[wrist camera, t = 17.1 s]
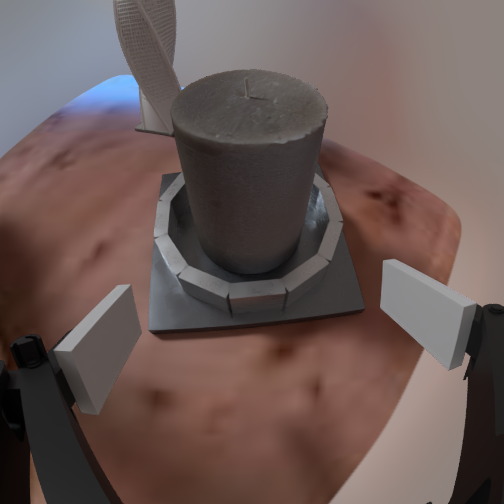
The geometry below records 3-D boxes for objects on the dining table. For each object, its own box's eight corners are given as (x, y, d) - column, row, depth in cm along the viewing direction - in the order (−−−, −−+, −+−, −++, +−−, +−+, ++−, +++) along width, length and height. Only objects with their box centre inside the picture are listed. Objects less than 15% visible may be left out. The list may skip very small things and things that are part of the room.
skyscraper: (205, 112, 41) (187, -62, 17) (176, 142, 37) (141, -60, 13) (161, 107, 42) (134, -49, 19) (130, 134, 38) (87, -39, 15)
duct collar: (152, 333, 23) (135, 317, 20) (164, 180, 33) (156, 154, 29) (361, 312, 24) (378, 293, 21) (317, 168, 34) (322, 142, 30)
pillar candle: (180, 220, 28) (141, 81, 15) (261, 178, 31) (264, 45, 18) (236, 297, 24) (218, 149, 11) (323, 239, 27) (367, 95, 14)
